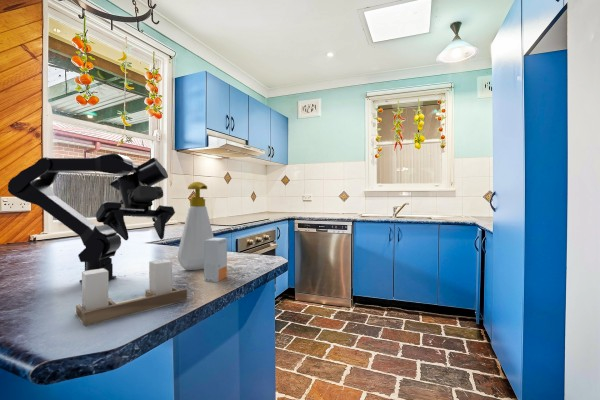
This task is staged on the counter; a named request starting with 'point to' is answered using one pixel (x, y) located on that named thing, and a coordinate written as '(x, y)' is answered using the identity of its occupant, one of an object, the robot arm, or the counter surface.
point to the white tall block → (95, 289)
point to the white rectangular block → (160, 276)
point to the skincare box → (215, 259)
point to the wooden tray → (130, 306)
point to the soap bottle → (195, 231)
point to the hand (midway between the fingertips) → (145, 239)
